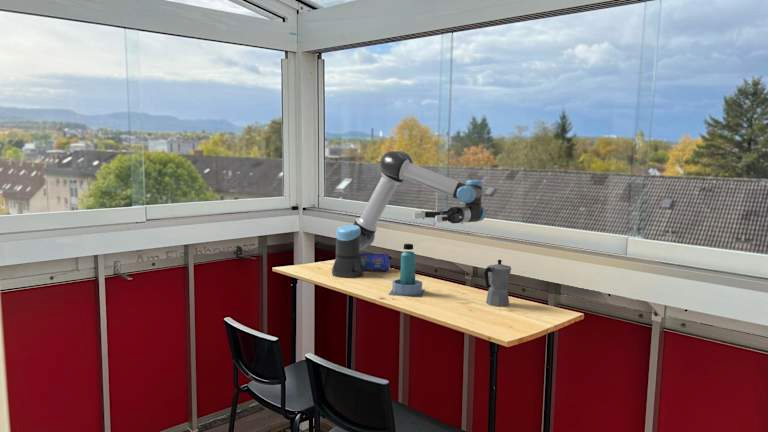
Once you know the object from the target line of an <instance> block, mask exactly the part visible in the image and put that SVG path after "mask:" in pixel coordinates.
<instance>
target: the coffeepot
mask: <svg viewBox="0 0 768 432" xmlns="http://www.w3.org/2000/svg"><path fill="white" fill-rule="evenodd" d="M502 261H503V260H501V259H498V260H497V263H496V264H489V265H488V266H487V267H486V268H485V270H484V271H483V276H484V281H485V285H486V288H488V291H487V295H486V299H485V300H486V301H485V303H486V305H489V306H492V307H498V308H499V307H500V308H501V306H503V307H508V306H509V304H510V301H509V300H510V298H509V292H508V285H509V281H510V277H511V276H510V275H511V271H512V267H511V266H510V265H506V264H502ZM507 305H508V306H507Z"/></svg>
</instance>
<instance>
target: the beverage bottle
mask: <svg viewBox="0 0 768 432" xmlns="http://www.w3.org/2000/svg"><path fill="white" fill-rule="evenodd" d="M403 250H404V251H403V252H401V254H400V275H399V277H400V278H399V279H400V284H401V285H415V280H416V253H415V252H414V251H411V250H414V244H412V243H405V244H403ZM405 250H406V251H405ZM407 250H408V251H407Z"/></svg>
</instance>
